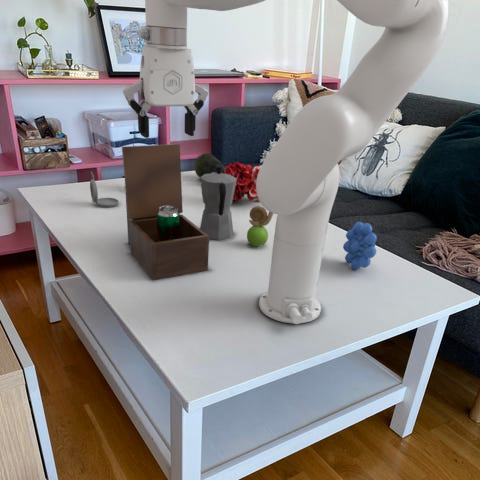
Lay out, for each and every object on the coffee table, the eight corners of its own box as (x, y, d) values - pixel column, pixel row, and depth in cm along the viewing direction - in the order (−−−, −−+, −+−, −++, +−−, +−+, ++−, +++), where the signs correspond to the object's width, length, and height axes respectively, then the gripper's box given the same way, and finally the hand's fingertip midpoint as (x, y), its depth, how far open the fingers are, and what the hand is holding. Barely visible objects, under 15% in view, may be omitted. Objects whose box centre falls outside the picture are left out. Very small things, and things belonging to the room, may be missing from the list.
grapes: (383, 277, 115) (395, 229, 108) (358, 280, 113) (369, 231, 106) (357, 257, 124) (367, 212, 118) (334, 259, 122) (343, 213, 116)
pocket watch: (123, 204, 146) (121, 170, 141) (102, 211, 140) (99, 176, 134) (103, 198, 149) (101, 165, 144) (82, 204, 143) (78, 170, 138)
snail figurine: (269, 251, 123) (274, 205, 117) (244, 247, 124) (248, 201, 118) (272, 243, 128) (277, 198, 122) (248, 240, 129) (252, 195, 122)
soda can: (182, 256, 115) (183, 207, 109) (173, 264, 111) (173, 214, 105) (163, 252, 116) (162, 203, 110) (153, 260, 112) (152, 210, 106)
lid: (179, 144, 111) (170, 142, 115) (122, 147, 105) (115, 144, 109) (182, 212, 117) (174, 208, 122) (129, 218, 111) (122, 214, 116)
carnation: (202, 200, 178) (260, 226, 154) (166, 170, 165) (224, 193, 141) (225, 164, 178) (287, 185, 153) (192, 131, 165) (254, 148, 140)
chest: (208, 270, 112) (209, 236, 107) (153, 280, 106) (152, 244, 101) (181, 246, 122) (182, 214, 118) (130, 254, 116) (128, 220, 112)
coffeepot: (196, 224, 136) (198, 158, 126) (229, 225, 137) (233, 159, 128) (202, 247, 123) (204, 175, 113) (238, 246, 124) (243, 176, 115)
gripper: (127, 37, 84) (132, 141, 93) (217, 42, 91) (213, 137, 100) (114, 35, 89) (120, 133, 98) (200, 40, 97) (198, 130, 106)
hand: (167, 135), depth 99 cm, fingers open, 9 cm apart
